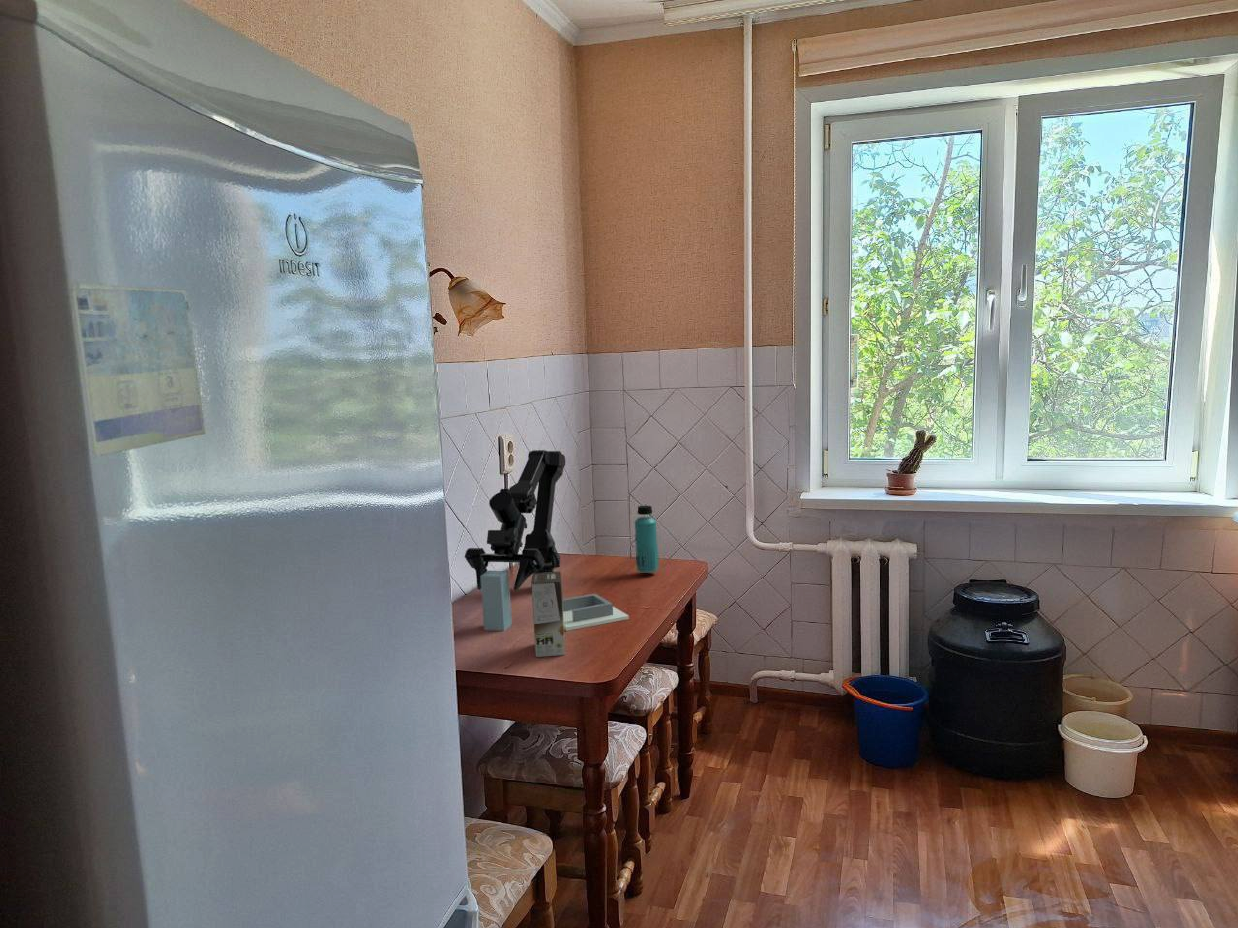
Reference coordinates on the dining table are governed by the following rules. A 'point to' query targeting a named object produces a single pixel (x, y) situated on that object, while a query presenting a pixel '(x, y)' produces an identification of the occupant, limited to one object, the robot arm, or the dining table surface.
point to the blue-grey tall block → (496, 600)
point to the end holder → (589, 612)
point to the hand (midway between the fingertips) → (496, 589)
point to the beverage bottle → (646, 541)
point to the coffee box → (548, 614)
